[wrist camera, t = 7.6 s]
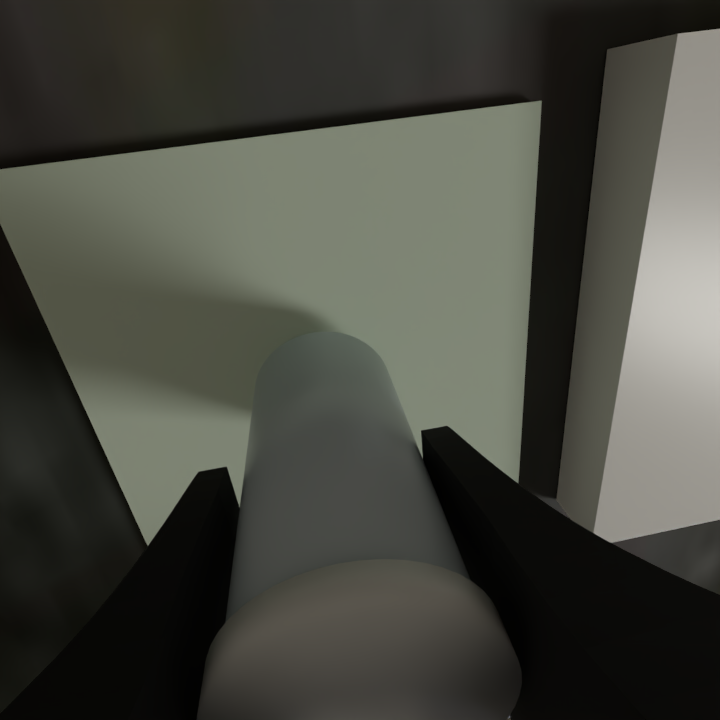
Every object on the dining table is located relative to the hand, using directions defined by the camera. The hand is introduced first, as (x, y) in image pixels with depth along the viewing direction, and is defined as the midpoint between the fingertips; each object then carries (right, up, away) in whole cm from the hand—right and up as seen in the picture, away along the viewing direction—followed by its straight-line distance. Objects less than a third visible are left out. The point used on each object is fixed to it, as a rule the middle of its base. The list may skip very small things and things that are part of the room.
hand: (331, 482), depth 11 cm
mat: (-1, +2, +5) cm, 5 cm away
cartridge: (0, +2, +3) cm, 4 cm away
